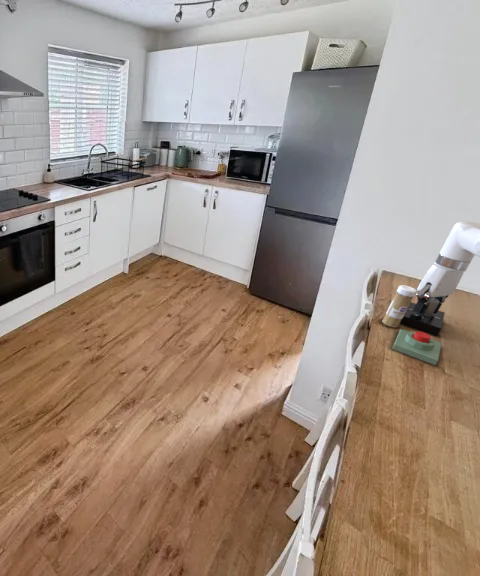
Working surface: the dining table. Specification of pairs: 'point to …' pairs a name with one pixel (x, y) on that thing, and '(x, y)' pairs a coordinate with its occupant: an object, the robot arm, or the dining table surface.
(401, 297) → the sprinkles bottle
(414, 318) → the panel
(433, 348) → the button box
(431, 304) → the dial
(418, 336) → the button
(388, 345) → the dining table surface
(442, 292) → the robot arm
